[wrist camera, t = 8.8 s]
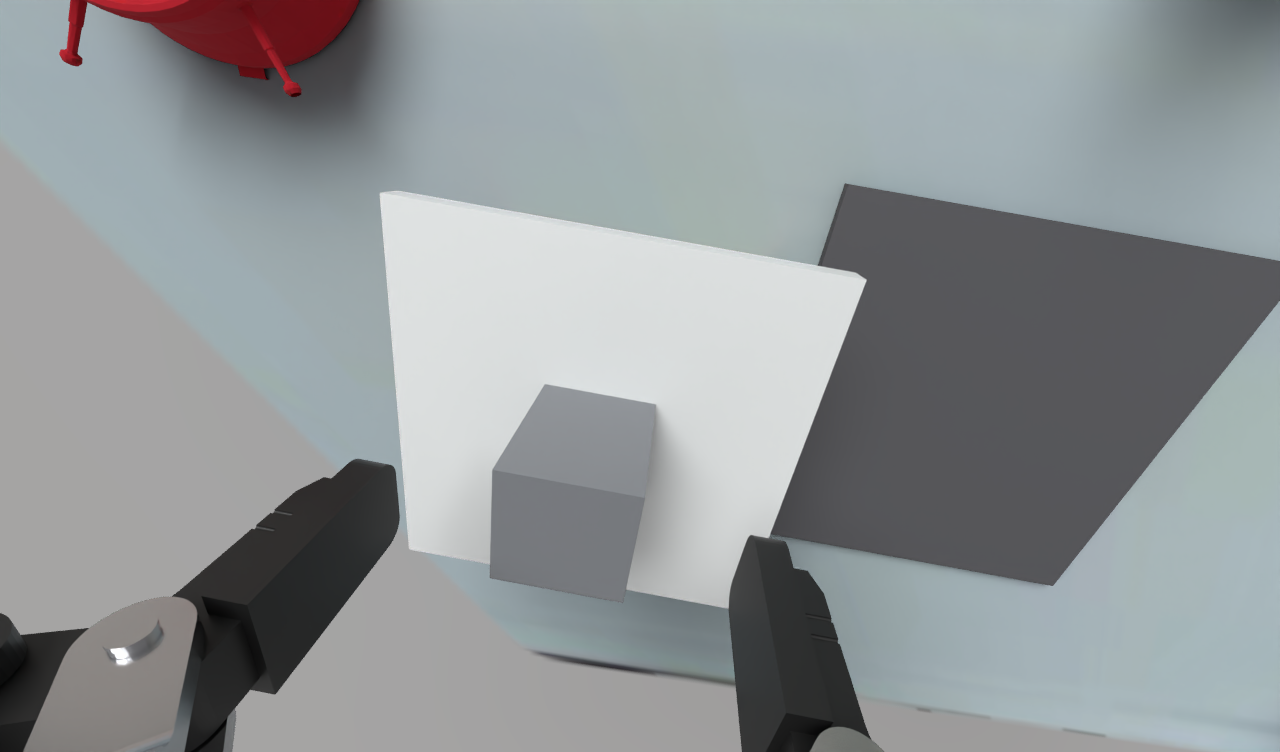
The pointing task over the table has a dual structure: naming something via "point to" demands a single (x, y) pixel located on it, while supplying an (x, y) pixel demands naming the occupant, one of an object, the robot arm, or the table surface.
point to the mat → (1006, 379)
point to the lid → (599, 395)
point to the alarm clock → (232, 29)
